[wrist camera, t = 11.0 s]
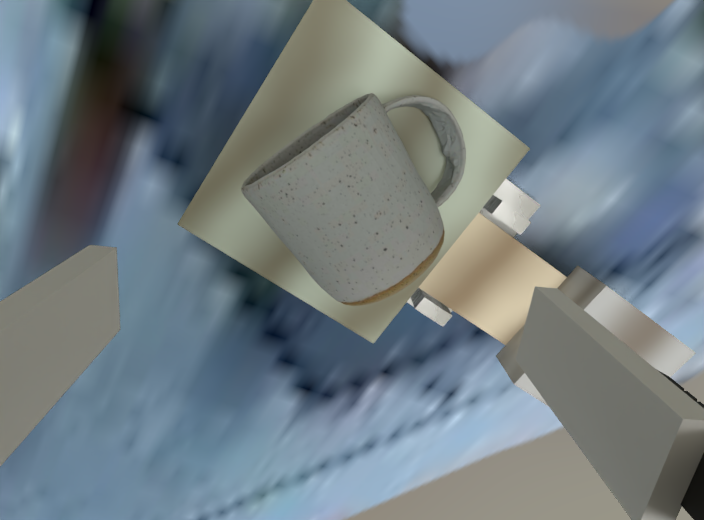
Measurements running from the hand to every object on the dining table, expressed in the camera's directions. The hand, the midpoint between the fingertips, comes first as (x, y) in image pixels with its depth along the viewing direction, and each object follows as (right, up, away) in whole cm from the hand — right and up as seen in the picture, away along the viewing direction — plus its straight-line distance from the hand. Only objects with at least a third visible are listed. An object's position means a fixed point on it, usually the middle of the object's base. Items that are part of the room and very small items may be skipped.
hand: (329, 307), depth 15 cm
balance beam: (+8, +1, +16) cm, 18 cm away
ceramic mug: (+1, +7, +12) cm, 13 cm away
